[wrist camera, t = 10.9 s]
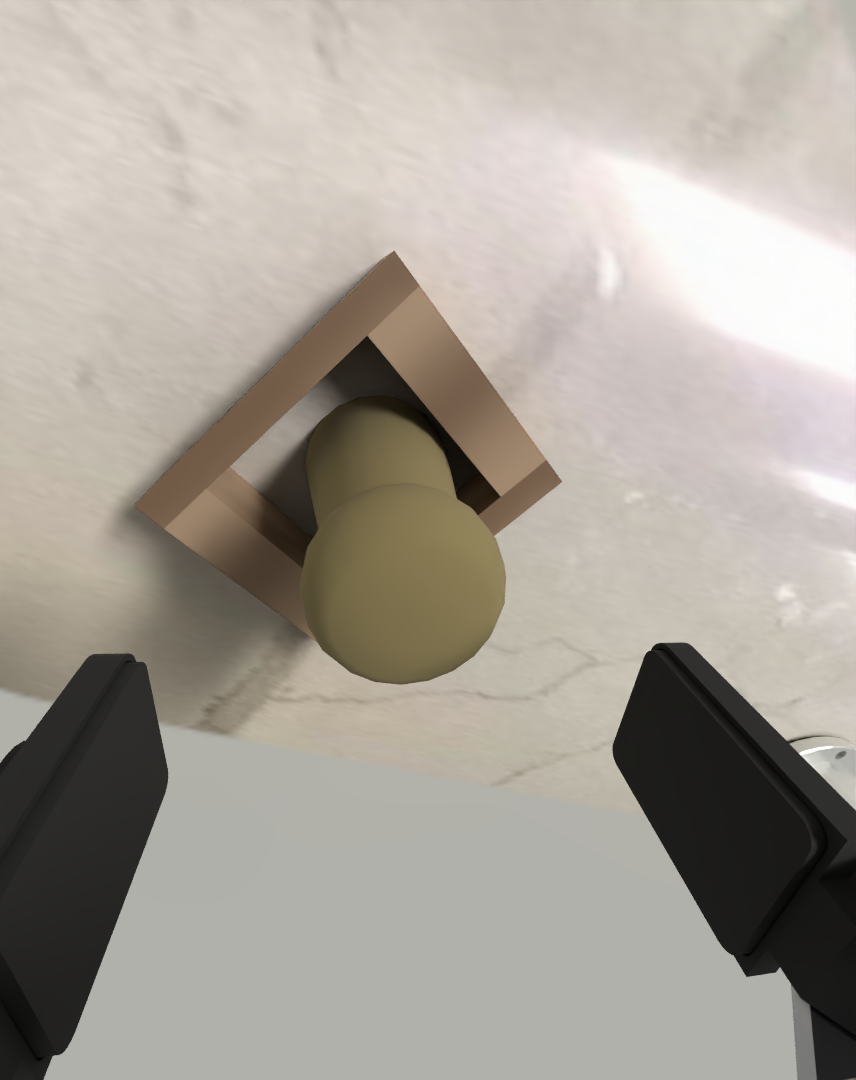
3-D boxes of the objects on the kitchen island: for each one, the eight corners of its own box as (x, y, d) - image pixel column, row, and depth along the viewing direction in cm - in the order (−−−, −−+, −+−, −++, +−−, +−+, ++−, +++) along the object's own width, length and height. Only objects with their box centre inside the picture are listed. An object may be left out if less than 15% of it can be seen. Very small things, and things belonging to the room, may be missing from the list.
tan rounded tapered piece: (303, 528, 21) (275, 727, 12) (306, 388, 18) (272, 493, 9) (436, 534, 22) (512, 718, 13) (457, 403, 20) (570, 510, 10)
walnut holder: (534, 458, 21) (562, 481, 19) (339, 617, 24) (340, 658, 21) (385, 256, 17) (394, 250, 14) (161, 476, 19) (133, 506, 16)
